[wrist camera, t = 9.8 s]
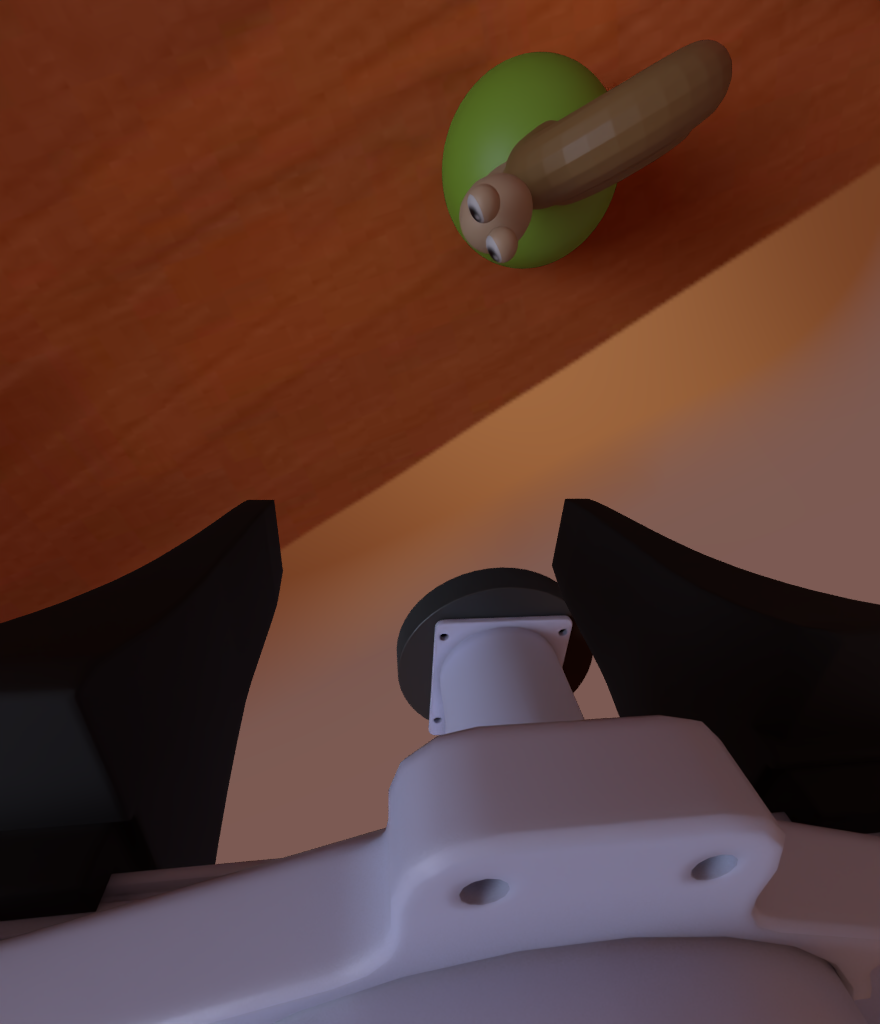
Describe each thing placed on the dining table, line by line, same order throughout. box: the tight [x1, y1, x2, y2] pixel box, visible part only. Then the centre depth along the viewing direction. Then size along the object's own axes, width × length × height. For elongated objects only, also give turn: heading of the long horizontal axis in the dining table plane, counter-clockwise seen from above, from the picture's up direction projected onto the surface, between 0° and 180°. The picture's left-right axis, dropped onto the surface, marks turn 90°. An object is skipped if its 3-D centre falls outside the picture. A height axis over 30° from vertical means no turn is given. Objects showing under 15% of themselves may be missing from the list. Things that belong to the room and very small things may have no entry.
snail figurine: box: [442, 40, 732, 269], centre depth 12 cm, size 5×6×12 cm
